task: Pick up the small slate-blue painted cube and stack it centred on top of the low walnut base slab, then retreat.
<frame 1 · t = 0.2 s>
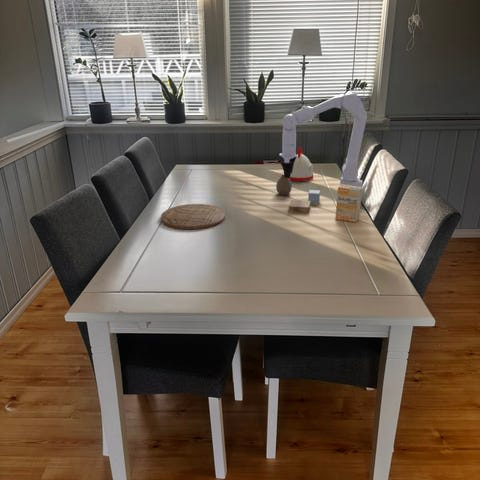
hand: (288, 175, 195), 10 cm above the table, fingers open, 7 cm apart
trivet: (193, 219, 177), on the table
vase: (283, 194, 202), on the table
base: (299, 210, 184), on the table
cube: (313, 201, 192), on the table
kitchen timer: (299, 177, 228), on the table
supplement box: (347, 219, 173), on the table
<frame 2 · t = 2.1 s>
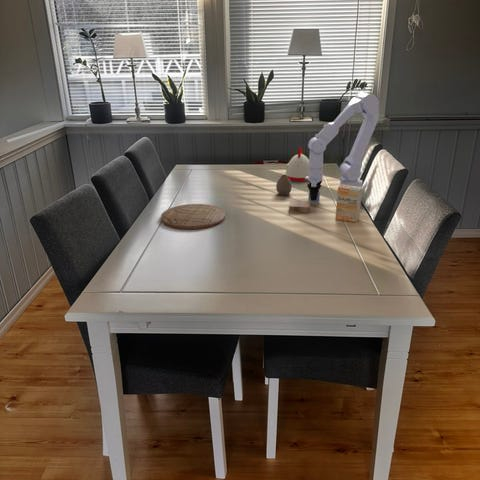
hand: (314, 198, 192), 1 cm above the table, fingers closed on cube, 4 cm apart
cube: (313, 201, 192), on the table, touching gripper
everything else where it was.
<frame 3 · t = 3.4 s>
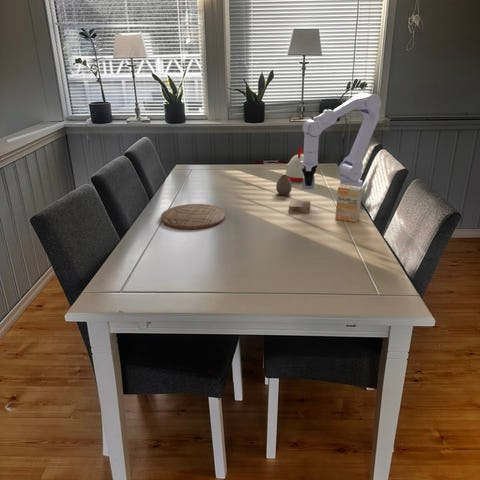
hand: (309, 183, 185), 9 cm above the table, fingers closed on cube, 4 cm apart
cube: (308, 187, 186), point 7 cm above the table, touching gripper
everything else where it was.
when the fingers open (6 cm above the table, at t = 4.8 s): cube drops 2 cm, resting on base.
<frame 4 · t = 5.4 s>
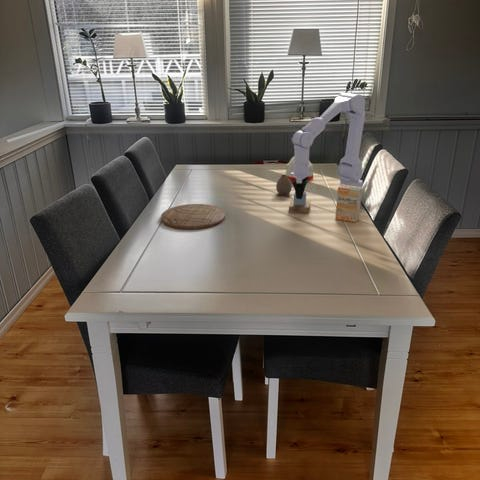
hand: (300, 195, 181), 6 cm above the table, fingers open, 7 cm apart
base: (299, 210, 184), on the table, touching cube
cube: (299, 203, 183), point 3 cm above the table, touching base
everything else where it was.
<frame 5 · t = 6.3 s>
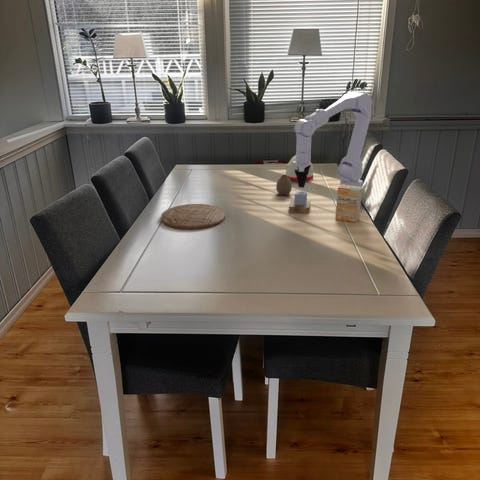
hand: (302, 184, 182), 10 cm above the table, fingers open, 7 cm apart
base: (299, 210, 184), on the table
cube: (300, 203, 183), point 2 cm above the table
everything else where it was.
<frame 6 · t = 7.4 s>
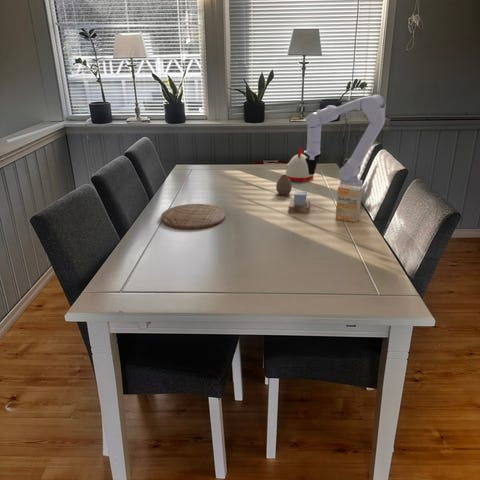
hand: (312, 172, 199), 10 cm above the table, fingers open, 7 cm apart
base: (299, 210, 184), on the table, touching cube
cube: (300, 203, 182), point 3 cm above the table, touching base
everything else where it was.
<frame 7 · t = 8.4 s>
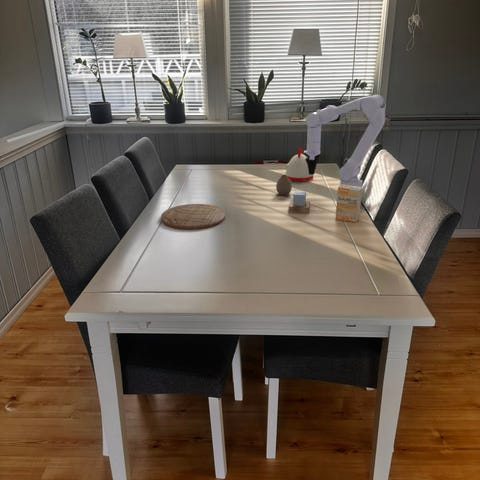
hand: (312, 172, 199), 10 cm above the table, fingers open, 7 cm apart
nothing on the table moved.
at the end: cube 0.2 cm off-centre on the base, point 3.0 cm above the base's base; cube tilted 0°; the gripper is holding nothing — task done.
